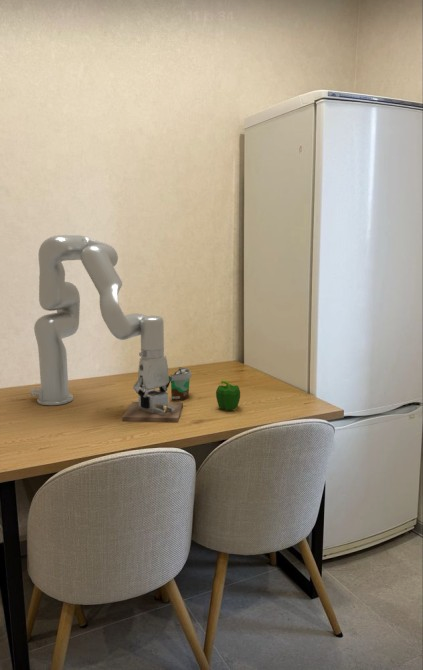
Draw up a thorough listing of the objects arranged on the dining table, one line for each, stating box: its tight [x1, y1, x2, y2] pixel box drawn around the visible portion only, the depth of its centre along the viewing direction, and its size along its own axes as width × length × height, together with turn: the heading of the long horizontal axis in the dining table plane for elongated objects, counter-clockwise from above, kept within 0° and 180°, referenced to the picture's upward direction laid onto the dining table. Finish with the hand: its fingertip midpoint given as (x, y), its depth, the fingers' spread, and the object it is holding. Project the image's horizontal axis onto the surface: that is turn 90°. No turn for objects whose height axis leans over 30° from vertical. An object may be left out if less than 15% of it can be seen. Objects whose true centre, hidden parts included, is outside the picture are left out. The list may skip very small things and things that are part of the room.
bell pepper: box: [215, 379, 241, 411], centre depth 182 cm, size 8×8×10 cm
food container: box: [170, 366, 192, 402], centre depth 195 cm, size 12×6×10 cm, turn 168°
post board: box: [121, 394, 184, 423], centre depth 177 cm, size 18×16×6 cm
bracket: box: [138, 388, 174, 416], centre depth 176 cm, size 11×7×6 cm, turn 47°
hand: (153, 404), depth 177 cm, fingers closed on bracket, 7 cm apart
